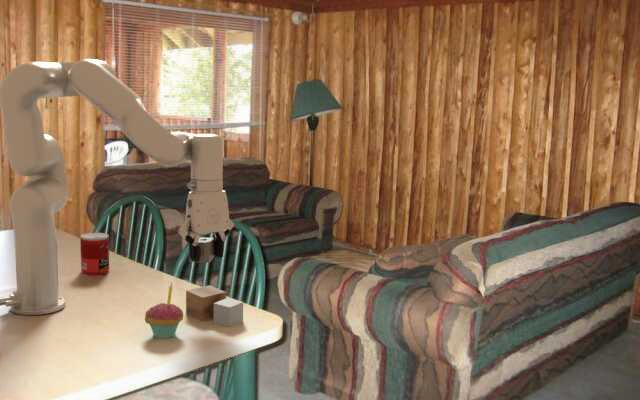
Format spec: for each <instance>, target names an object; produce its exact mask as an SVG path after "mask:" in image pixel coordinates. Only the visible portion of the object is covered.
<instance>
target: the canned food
mask: <svg viewBox="0 0 640 400" xmlns="http://www.w3.org/2000/svg"><path fill="white" fill-rule="evenodd" d="M79 239H80V242H79V243H80V269H81V273H82V274H84V275H87V276H101V275H106V274H107V273H108V272H109V270H110V240H109V239H110V237H109V234H108V233H104V232H89V233H84V234H81V235H80V238H79Z"/></svg>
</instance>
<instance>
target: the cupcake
mask: <svg viewBox="0 0 640 400" xmlns="http://www.w3.org/2000/svg"><path fill="white" fill-rule="evenodd" d="M172 293H173V282H171V283H170V285H169V287H168V294H167V295H168V297H167V303H164V302H162V303H158V304H156V305H154V306H151V307H150V308H149V309H148V310H146V311H145V316H144V321H145V323H146V324H148V325H149V326H150V328H151V330H152V331H151V332H152V334H153V336H154V338H157V339H169V338H173V337H174V336H176V331H177V328H178V326H179V324H180V322H182V321H183V320H184V312H183V310H182V308H180V306H177V305H176V304H172V303H171V298H172Z"/></svg>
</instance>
